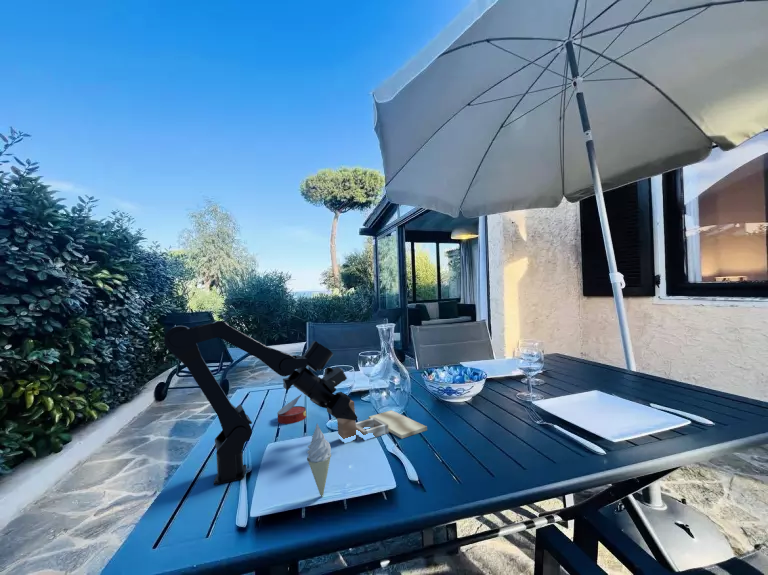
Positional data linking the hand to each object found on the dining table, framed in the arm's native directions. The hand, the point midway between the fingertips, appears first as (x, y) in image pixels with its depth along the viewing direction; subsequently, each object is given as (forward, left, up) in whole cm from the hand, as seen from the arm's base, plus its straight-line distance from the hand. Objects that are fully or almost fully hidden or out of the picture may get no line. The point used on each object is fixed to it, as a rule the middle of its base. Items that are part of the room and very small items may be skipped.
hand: (349, 414), depth 96 cm
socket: (+3, -11, -7) cm, 13 cm away
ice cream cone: (-26, +11, -7) cm, 29 cm away
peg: (0, +1, -7) cm, 7 cm away
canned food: (+27, +16, -7) cm, 32 cm away
